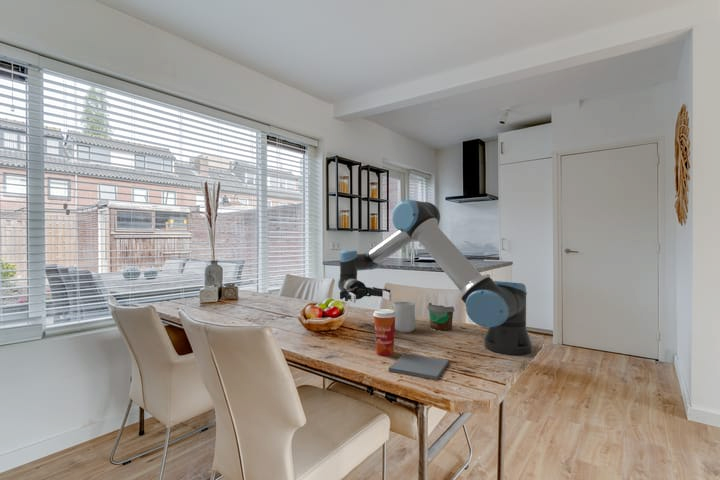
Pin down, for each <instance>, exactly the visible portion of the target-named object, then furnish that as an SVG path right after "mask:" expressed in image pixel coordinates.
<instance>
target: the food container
mask: <svg viewBox="0 0 720 480" xmlns="http://www.w3.org/2000/svg"><path fill="white" fill-rule="evenodd" d="M426 308H427V310H428V314H429V323H430V329H431V328H432V330H433V329H435V330H434V331H438V330H441V331H440V332H449V330H450V331H452V328H453V317H454V312H455V307H454V306H445V305H435V304H432V302H428V305H427V307H426Z"/></svg>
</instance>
